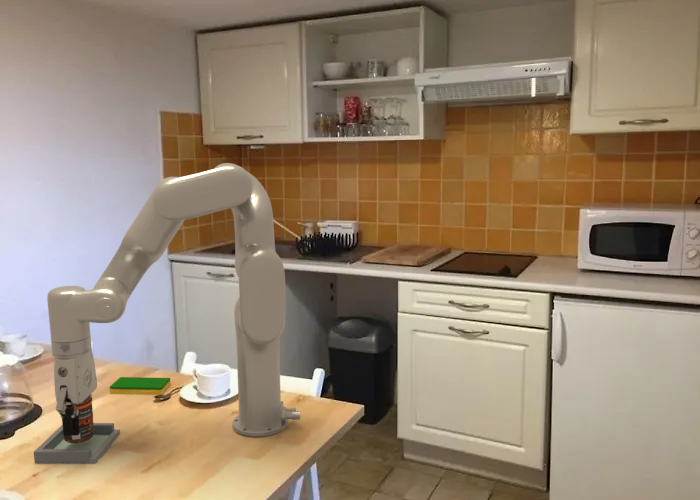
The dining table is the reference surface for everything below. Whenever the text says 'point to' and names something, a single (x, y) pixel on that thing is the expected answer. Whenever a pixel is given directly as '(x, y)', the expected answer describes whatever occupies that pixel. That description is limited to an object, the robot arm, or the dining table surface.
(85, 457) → the dock bay
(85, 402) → the supplement bottle
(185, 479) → the dining table surface
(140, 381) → the dish sponge
